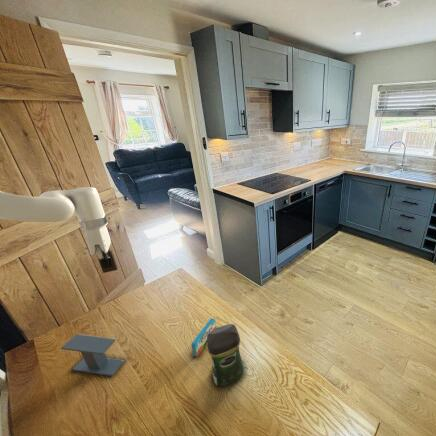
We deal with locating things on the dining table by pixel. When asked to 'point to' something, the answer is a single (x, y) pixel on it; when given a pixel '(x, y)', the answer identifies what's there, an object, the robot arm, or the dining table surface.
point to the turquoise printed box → (202, 337)
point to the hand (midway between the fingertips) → (108, 264)
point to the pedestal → (93, 354)
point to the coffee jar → (225, 354)
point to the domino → (112, 262)
